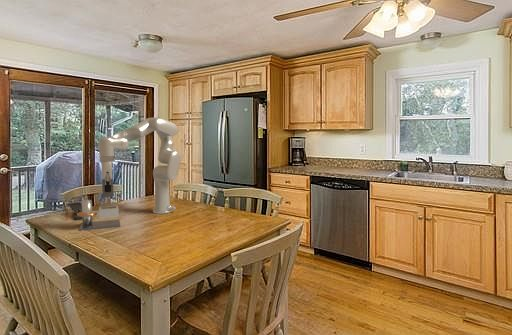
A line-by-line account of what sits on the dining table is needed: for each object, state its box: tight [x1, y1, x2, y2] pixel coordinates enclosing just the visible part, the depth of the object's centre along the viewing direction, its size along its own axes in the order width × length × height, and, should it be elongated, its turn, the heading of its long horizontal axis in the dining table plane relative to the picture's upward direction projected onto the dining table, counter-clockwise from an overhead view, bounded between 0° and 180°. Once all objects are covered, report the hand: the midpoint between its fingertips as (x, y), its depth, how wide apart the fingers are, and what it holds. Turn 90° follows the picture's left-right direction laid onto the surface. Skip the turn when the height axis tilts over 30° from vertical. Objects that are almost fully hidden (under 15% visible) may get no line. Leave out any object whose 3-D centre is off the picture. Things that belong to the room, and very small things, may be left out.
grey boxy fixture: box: [77, 199, 121, 232], centre depth 177 cm, size 22×13×15 cm, turn 116°
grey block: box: [101, 178, 115, 198], centre depth 177 cm, size 6×3×10 cm, turn 116°
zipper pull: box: [67, 201, 83, 221], centre depth 199 cm, size 9×7×25 cm
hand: (108, 191), depth 178 cm, fingers closed on grey block, 3 cm apart
